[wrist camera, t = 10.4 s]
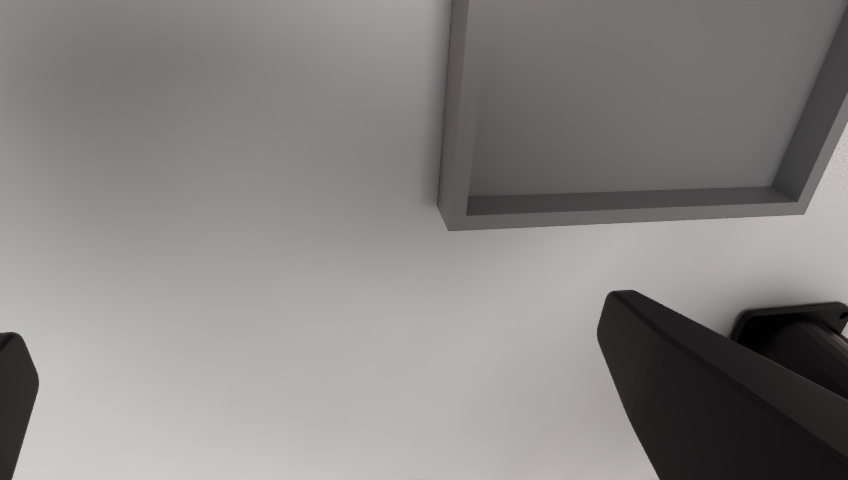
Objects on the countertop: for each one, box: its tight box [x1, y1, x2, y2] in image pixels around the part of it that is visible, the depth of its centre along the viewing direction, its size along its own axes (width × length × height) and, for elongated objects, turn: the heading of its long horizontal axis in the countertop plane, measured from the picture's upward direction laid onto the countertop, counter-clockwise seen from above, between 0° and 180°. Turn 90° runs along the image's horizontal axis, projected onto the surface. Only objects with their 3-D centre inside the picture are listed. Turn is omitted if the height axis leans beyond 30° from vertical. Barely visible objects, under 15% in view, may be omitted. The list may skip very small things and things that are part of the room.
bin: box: [437, 0, 848, 231], centre depth 20 cm, size 15×10×2 cm
